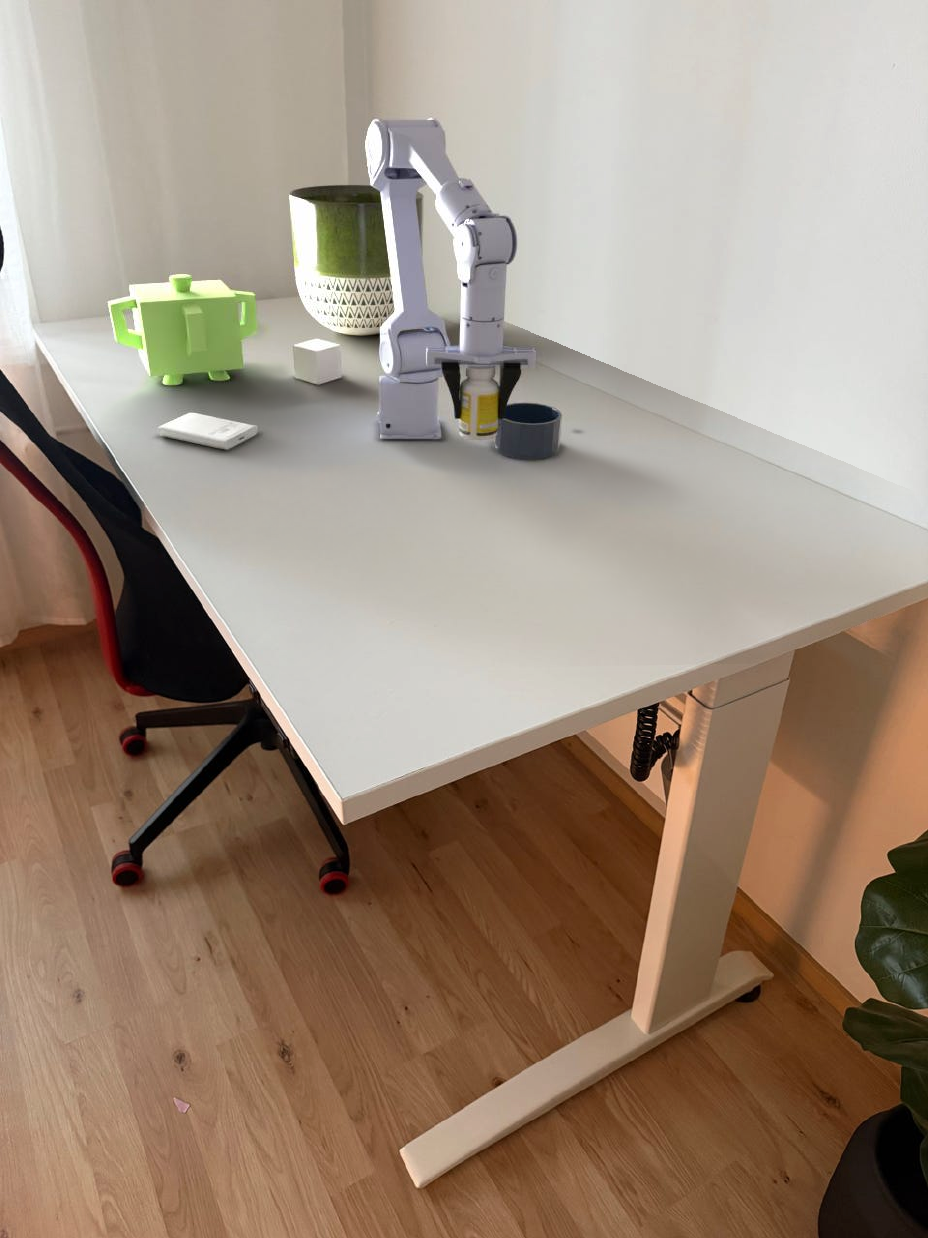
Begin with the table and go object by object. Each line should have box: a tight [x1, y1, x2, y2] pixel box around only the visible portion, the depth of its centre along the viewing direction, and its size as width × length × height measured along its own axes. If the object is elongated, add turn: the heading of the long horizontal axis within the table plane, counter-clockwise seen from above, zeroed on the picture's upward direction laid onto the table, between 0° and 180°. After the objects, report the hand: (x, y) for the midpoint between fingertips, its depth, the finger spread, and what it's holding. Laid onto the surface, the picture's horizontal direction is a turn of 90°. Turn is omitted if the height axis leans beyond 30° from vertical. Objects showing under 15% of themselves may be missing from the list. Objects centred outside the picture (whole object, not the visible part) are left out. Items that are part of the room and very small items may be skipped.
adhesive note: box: [292, 338, 342, 385], centre depth 172 cm, size 6×6×6 cm
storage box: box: [107, 273, 259, 386], centre depth 169 cm, size 25×23×17 cm
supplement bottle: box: [458, 365, 499, 441], centre depth 130 cm, size 5×5×10 cm
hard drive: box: [158, 412, 258, 451], centre depth 146 cm, size 2×8×12 cm
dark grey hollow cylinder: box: [493, 402, 563, 461], centre depth 145 cm, size 10×10×6 cm
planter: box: [288, 184, 425, 336], centre depth 195 cm, size 27×27×27 cm
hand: (478, 416), depth 131 cm, fingers closed on supplement bottle, 5 cm apart
